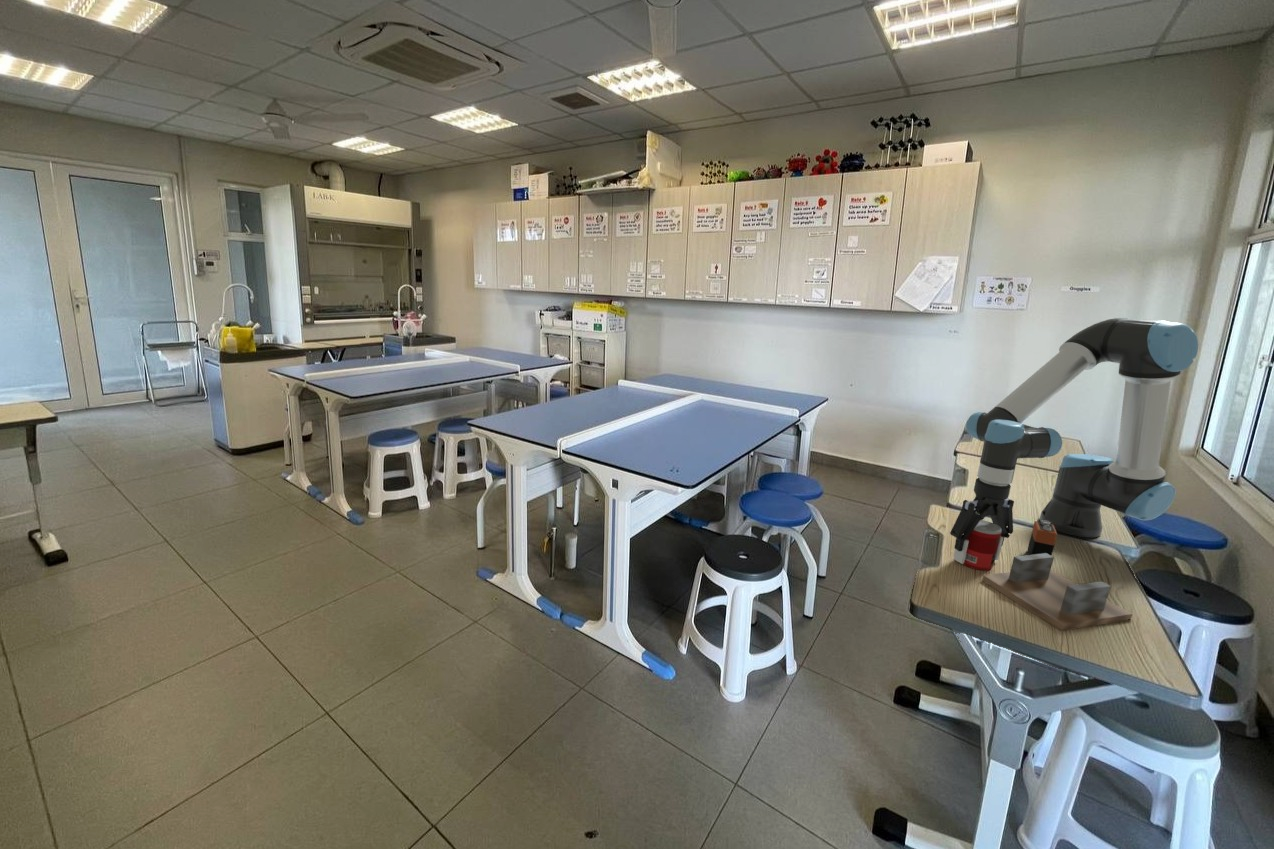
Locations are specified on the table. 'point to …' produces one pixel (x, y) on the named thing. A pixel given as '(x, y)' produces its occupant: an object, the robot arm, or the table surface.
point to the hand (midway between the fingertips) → (975, 559)
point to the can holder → (1056, 594)
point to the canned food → (982, 546)
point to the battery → (1042, 538)
